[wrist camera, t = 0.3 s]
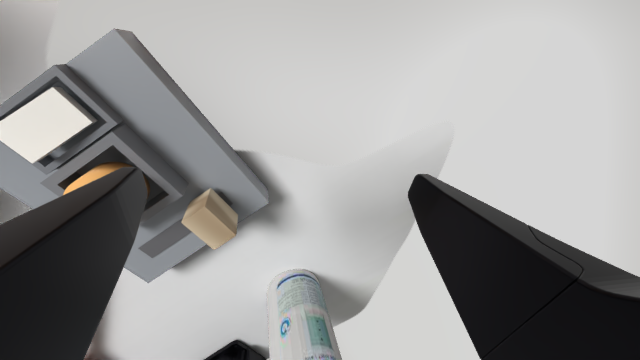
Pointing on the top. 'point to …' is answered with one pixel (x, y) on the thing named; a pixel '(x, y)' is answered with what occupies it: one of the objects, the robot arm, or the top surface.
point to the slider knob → (211, 219)
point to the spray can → (299, 319)
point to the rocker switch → (44, 124)
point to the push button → (100, 175)
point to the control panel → (134, 147)
